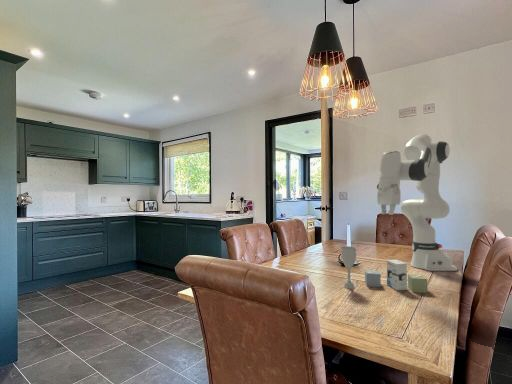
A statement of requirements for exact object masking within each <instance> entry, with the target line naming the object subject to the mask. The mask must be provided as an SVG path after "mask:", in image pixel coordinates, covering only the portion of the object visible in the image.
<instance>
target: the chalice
mask: <svg viewBox="0 0 512 384" xmlns="http://www.w3.org/2000/svg"><path fill="white" fill-rule="evenodd" d="M340 249H341V260H342V262H343V264H344V266H345V268H347V276H346V277H347V280H346V281H345V282H344V284H343V288H345V289H347V290H348V289H349V290H354V289H355V288H356V286H355V284H354V282H353V281H351V277H352V276H351V273H352V272H351V269H352V268H353V267H354V265H355V262H356V260H357V249H358V248H357V247H355V246H340Z"/></svg>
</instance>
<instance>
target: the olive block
mask: <svg viewBox="0 0 512 384" xmlns="http://www.w3.org/2000/svg"><path fill="white" fill-rule="evenodd" d="M407 289H409V290H410V291H411V292H412V293H424V294H427V293H428V278H427V277H426V276H424V275H423V274H407Z"/></svg>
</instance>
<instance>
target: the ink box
mask: <svg viewBox="0 0 512 384" xmlns="http://www.w3.org/2000/svg"><path fill="white" fill-rule="evenodd" d="M407 265H408V264H407V263H406V262H403V261H401V260H399V259H387V260H386V285H387V286H389V287H390V288H392V289H394V290H395V291H407V290H408V274H407V273H408V272H407V269H408V268H407Z"/></svg>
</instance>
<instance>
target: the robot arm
mask: <svg viewBox="0 0 512 384" xmlns="http://www.w3.org/2000/svg"><path fill="white" fill-rule="evenodd" d="M450 151H451V147H450V145H449V143H448V142H447V141H443V140H442V141H432V138H431V137H430V136H429V135H428V134H425V133H419V134H417V135H415V136H414V137H412V138H410V139H409V141H407V143H406V144H405V146H404V147H403V155H404V157H405V158H406V160H402V156H401V152H400V151H398V150H394V151H393V150H392V151H385V152H383V153H382V155H381V159H380V168H379V170H380V176H379V178H378V179H379V181H378V184H377V185H376V190H377V194H376V195H377V196H376V197H377V198H376V199H377V205H380V209H381V214H382V215H387V206H389V210H388V215H391V216H392V215H394V214H395V210H396V207H397V205H400V203H401V188H400V187H401V181H416V190H417V191H418V192H420V193H421V194H422V195H423V198H410V199H406V200H404V201H402V203H401V205H400V211H401V213H402V214H403V215H404V216H405V217H406V218H407V219H408V221H409V222H410V224H411V227H412V236H413V237H412V239H413V240H412V244H411V247H412V258H411V262H410V266H411V267H413V268H416V269H421V270H425V271H435V272H436V271H437V272H438V271H440V272H441V271H442V272H444V271H445V272H448V271H450V272H454V271H457V270H458V269H457V266H456V265H453V263H452V259H451V257H450V256H448V254H446V253H445V252H443V251H442V250H441V249H442V248H443V245H442V244H441V243H437V242H436V230H435V227H434V226H433V225H431V224H429V223H428V222H427V220H426V219H433V220H435V219H444V218H446V217H448V215H449V213H450V205H449V204H448V202H447V201H446V200H444V199H443V198H442V196H441V195H440V194H441V193H440V190H439V187H440V186H439V185H440V175H441V164H442V163H443V162H444V161H446V160H447V159H448V157H449V155H450Z"/></svg>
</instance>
